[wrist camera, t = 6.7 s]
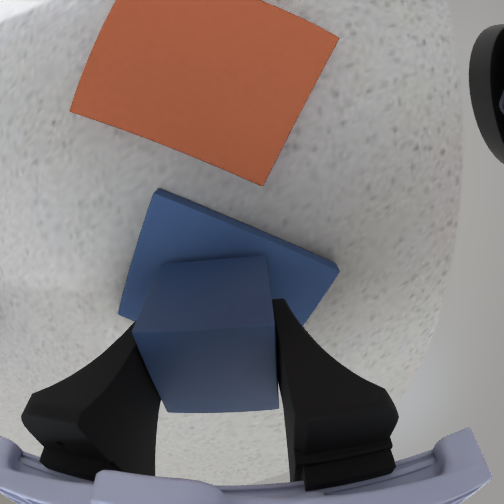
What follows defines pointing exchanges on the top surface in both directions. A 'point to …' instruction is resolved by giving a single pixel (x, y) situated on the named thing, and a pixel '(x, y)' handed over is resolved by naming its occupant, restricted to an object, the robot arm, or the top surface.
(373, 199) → the top surface
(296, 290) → the blue mat
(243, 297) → the blue cube
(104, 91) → the terracotta mat
